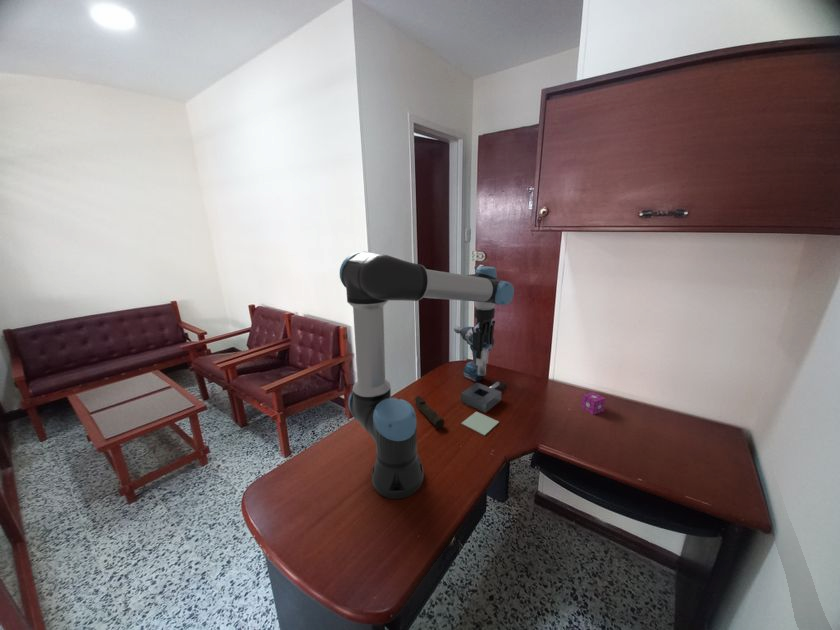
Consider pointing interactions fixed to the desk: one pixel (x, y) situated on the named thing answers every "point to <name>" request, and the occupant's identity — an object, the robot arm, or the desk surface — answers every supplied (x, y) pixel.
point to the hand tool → (429, 413)
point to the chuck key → (484, 359)
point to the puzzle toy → (593, 403)
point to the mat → (480, 423)
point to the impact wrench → (471, 367)
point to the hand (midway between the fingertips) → (481, 363)
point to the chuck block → (481, 396)
